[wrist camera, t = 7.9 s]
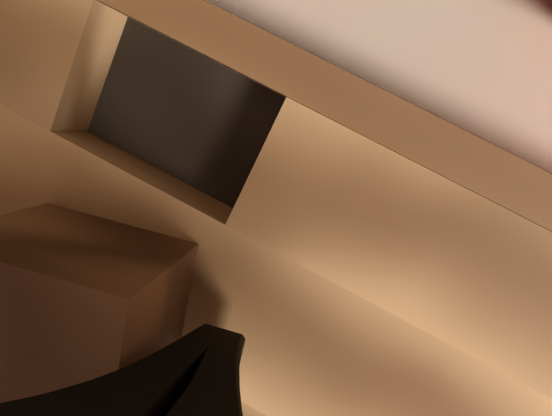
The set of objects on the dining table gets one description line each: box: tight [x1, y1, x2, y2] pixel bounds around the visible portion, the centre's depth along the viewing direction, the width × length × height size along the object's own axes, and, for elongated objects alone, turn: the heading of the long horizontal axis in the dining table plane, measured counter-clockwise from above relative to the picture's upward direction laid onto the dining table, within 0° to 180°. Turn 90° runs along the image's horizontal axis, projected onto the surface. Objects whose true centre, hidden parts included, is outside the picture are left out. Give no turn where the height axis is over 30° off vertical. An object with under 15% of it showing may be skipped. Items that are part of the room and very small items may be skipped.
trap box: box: [0, 0, 552, 416], centre depth 12 cm, size 15×33×4 cm, turn 63°
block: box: [0, 203, 199, 403], centre depth 11 cm, size 5×5×4 cm
